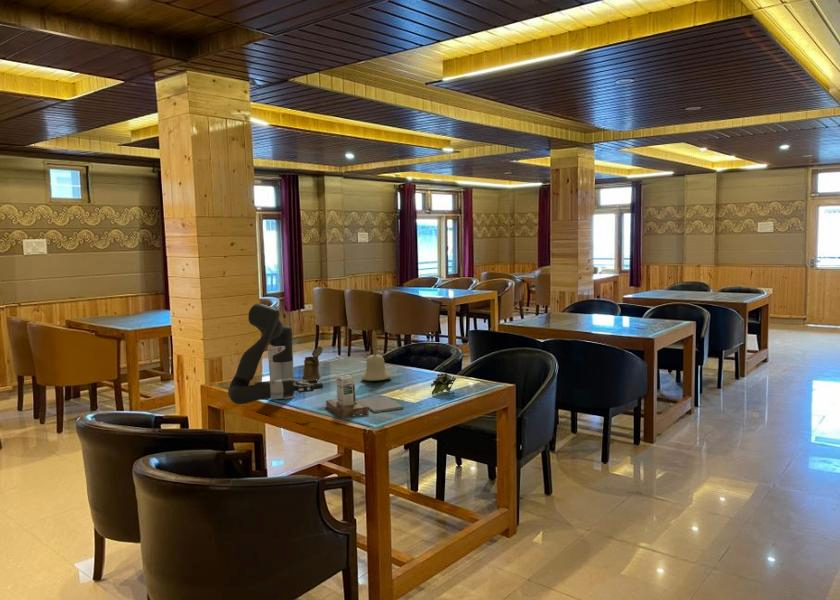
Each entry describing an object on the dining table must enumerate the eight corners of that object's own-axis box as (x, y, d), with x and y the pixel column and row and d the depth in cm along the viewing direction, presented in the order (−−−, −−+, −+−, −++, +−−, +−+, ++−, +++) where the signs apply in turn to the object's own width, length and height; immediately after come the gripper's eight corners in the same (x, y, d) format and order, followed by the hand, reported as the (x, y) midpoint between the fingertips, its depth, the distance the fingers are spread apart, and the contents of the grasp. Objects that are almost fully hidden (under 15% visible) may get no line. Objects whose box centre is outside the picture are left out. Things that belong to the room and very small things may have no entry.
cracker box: (278, 380, 330) (276, 341, 328) (289, 380, 329) (287, 340, 327) (269, 387, 316) (266, 345, 314) (281, 387, 316) (278, 345, 314)
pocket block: (340, 418, 256) (340, 410, 256) (326, 407, 274) (326, 400, 274) (368, 413, 261) (368, 406, 261) (353, 403, 279) (352, 396, 279)
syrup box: (343, 413, 264) (342, 378, 262) (337, 410, 269) (336, 376, 267) (356, 410, 267) (354, 376, 265) (350, 407, 272) (348, 374, 270)
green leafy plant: (442, 403, 295) (451, 379, 299) (455, 403, 286) (464, 379, 290) (423, 392, 291) (433, 368, 295) (435, 392, 281) (445, 368, 286)
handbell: (372, 384, 313) (370, 334, 311) (355, 380, 325) (352, 331, 322) (397, 379, 323) (395, 330, 321) (379, 375, 335) (377, 328, 332)
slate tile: (374, 413, 262) (374, 410, 262) (358, 402, 280) (358, 400, 280) (403, 408, 267) (403, 406, 267) (385, 398, 286) (385, 396, 285)
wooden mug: (314, 382, 323) (312, 347, 321) (299, 379, 333) (297, 345, 331) (328, 379, 329) (326, 345, 327) (313, 376, 339) (312, 342, 337)
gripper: (283, 382, 248) (324, 377, 255) (276, 376, 261) (314, 372, 268) (284, 401, 249) (325, 396, 255) (277, 394, 262) (315, 389, 268)
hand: (319, 383), depth 262 cm, fingers open, 8 cm apart
